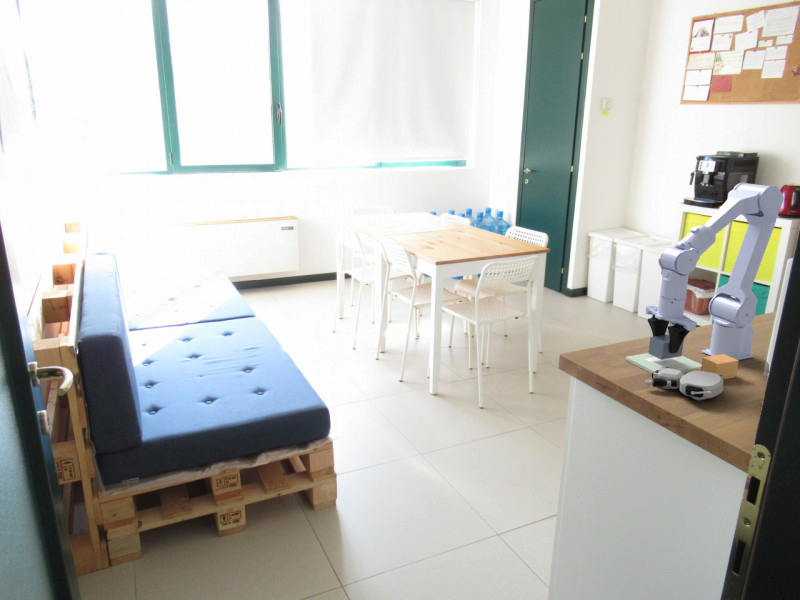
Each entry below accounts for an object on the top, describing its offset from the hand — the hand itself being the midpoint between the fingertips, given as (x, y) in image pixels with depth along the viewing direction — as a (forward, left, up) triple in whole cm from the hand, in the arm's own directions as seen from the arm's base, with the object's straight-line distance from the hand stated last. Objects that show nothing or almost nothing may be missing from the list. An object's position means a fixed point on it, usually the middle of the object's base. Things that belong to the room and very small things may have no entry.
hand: (665, 349), depth 149 cm
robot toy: (+7, +14, -4) cm, 16 cm away
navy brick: (0, 0, -2) cm, 2 cm away
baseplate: (0, 0, -4) cm, 4 cm away
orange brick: (-7, +10, -4) cm, 13 cm away
